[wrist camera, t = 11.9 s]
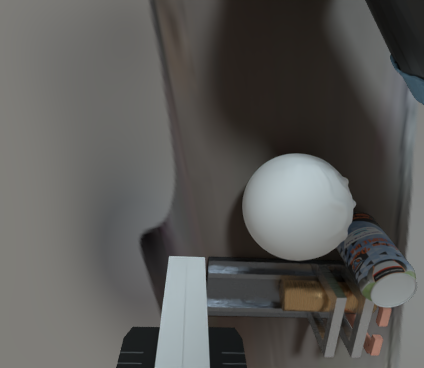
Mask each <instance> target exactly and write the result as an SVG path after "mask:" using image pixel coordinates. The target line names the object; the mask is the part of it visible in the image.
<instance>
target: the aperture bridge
mask: <svg viewBox="0 0 424 368" xmlns="http://www.w3.org/2000/svg"><path fill="white" fill-rule="evenodd" d="M378 307H379V312H378V315H377V319H376V323H377V324H378V326H387V325H388V321H389V317H390V314H391V310H392V309H391V308H385V307H380V306H378ZM345 316H346V317H347V319H348V321H349V323H350V324H351V326H352V328H353V325H354V321H355V317H356V314H346V315H345ZM382 342H383V338H382V337H381V335H372V337H371V338H370V336H369V334H368V333H367V334H366V338H365V341H364V345H363V347H364V349H365V350H366V352H367V353H370V354H371V355H379V353H380V349H381V346H382Z"/></svg>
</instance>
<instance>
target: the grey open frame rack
mask: <svg viewBox="0 0 424 368" xmlns="http://www.w3.org/2000/svg"><path fill="white" fill-rule="evenodd" d="M317 264H326V265H327V267H328V268H329V270H330V272H331V273H332V275H333V276H334V278H335V280H336V281H337V282H345V281H344V279H343V277H342V275H341V274H340V273H341V269H342V265H346V264H345V263H344V261H324V260H301V261H295V260H287V259H261V258H230V257H209V260H208V275H207V289H206V294H207V315H213V316H259V317H305V318H307V317H308V313H319V314H320V316H321V318H328V314H329V312H306V311H283V310H282V309H281V306H280V300H279V287H280V282H281V280H307V281H319V279H318V276H317V274H316V269H317ZM346 314H356V313H343V315H344V316H345V315H346ZM345 318H347V317H346V316H345Z"/></svg>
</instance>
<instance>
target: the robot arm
mask: <svg viewBox="0 0 424 368" xmlns="http://www.w3.org/2000/svg"><path fill="white" fill-rule="evenodd" d="M365 1H366V3H367V5H368V7H369V9H370V11H371V14H372V16H373V18H374V20H375V22H376V24H377V26H378V28H379V30H380V32H381V34H382V36H383V38H384V40H385V43H386V45H387V47H388V49H389V51H390V53H391V56H390V59H391V62H392V64H393V66H394V68H395V70H396V71H397V72H399V73H400V75H401V76H402V77H403V78H404V80H405V82H406V84H407V86H408V88H409V89H410V91H411V93H412V95H413V96H414V98H415V99H416V100H417V101H418V102H420V103H422V104H423V105H424V0H365ZM116 368H247V365H246V359H245V354H244V347H243V341H242V338H241V337H240V335H239V334H238V332H237V331H236V329H235V328H219V327H208V316H207V294H206V272H205V257H178V256H169V262H168V270H167V278H166V285H165V293H164V300H163V308H162V315H161V323H160V327H132V328H131V330H130V331H129V332H128V333H127V335H126V336H125V337H124V339H123V344H122V347H121V351H120V355H119V359H118V364H117V367H116Z"/></svg>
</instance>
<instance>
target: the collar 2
mask: <svg viewBox="0 0 424 368" xmlns="http://www.w3.org/2000/svg"><path fill="white" fill-rule="evenodd" d="M340 274H341V275H342V277H343V279H344V281H345V282H346V284H347V285H348V287H349V288H350V290H351V291H352V293H353V294H354V296H355V297H356V299H357V300H358V302H359V304H358V308H357V312H356V317H355V321H354V325H353V329H351V327H350V325H349V323H348V322H347V320H346V318H345V316H344V315H343V318H342V322H341V326H340V331H339V335H340V337H341V339H342V341H343V343H344V345H345V347H346V349H347V350H348V352H349V354H350V356H351V357H358V358H360V357H361V353H362V349H363V345H364V341H365V338H366V334H367V330H368V326H369V322H370V319H371V315H372V311H373V307H374V303H373V302H372V301H370V300H368V299H367V298H365V297H364V295H363V294H362V293H361V291H360V289H359V288H358V286H357V284H356V282H355V280H354V279H353V277H352V275H351V273H350V272H349V270H348V268H347V266H346V265H342V269H341V273H340Z"/></svg>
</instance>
